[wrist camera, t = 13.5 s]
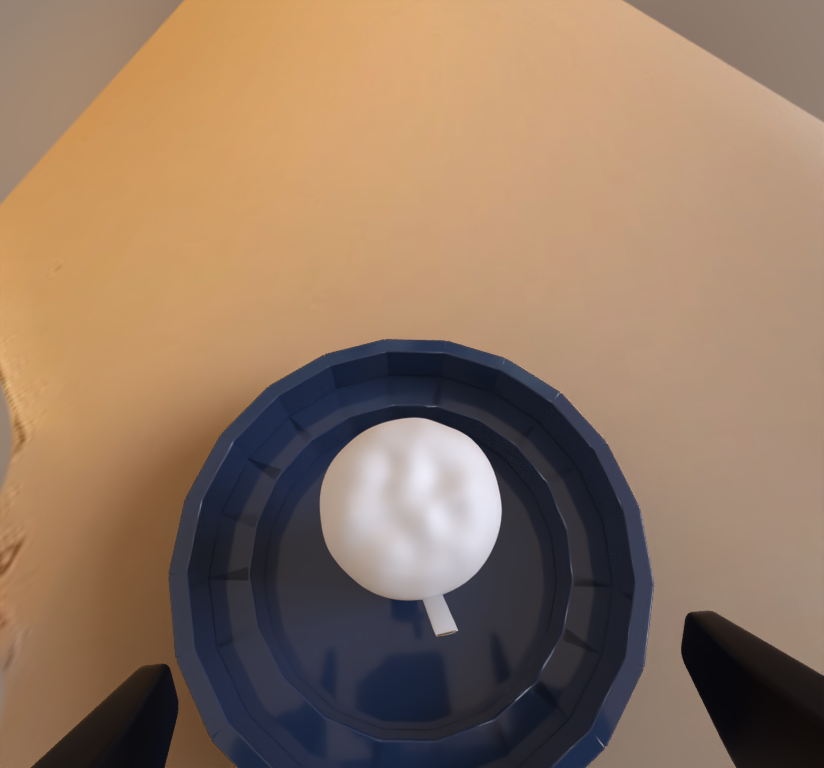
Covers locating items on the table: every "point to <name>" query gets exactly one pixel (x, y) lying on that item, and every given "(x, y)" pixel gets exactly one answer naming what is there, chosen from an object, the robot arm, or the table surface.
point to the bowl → (407, 619)
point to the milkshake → (411, 512)
